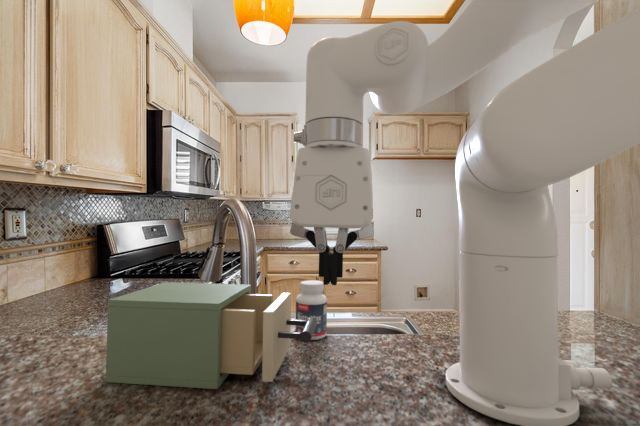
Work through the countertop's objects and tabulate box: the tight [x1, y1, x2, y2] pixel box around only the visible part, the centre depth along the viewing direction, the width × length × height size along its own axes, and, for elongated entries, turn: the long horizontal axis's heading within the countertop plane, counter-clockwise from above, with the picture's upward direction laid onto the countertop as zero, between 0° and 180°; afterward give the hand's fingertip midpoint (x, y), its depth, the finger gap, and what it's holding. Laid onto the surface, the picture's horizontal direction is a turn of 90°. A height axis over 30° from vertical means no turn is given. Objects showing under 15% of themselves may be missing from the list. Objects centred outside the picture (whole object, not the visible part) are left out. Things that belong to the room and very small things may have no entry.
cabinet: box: [105, 281, 252, 390], centre depth 43 cm, size 14×12×10 cm
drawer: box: [220, 292, 317, 383], centre depth 42 cm, size 17×10×8 cm, turn 84°
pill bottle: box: [294, 279, 328, 341], centre depth 54 cm, size 5×5×9 cm
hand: (330, 282), depth 41 cm, fingers closed
